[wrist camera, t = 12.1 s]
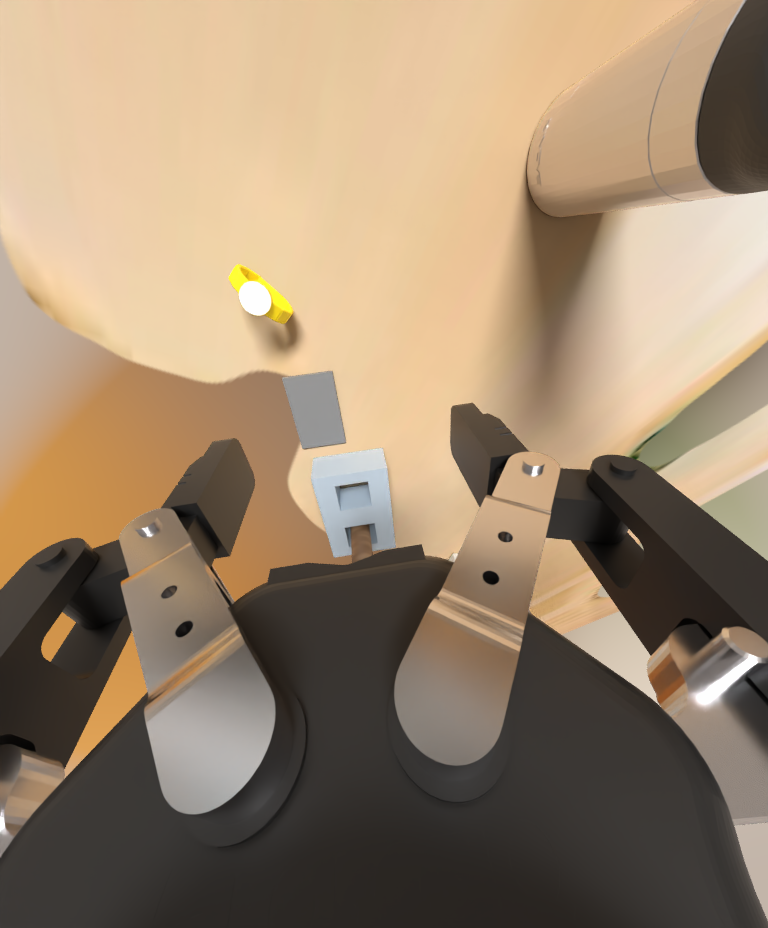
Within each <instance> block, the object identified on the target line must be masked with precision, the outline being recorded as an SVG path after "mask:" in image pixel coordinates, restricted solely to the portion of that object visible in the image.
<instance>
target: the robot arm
mask: <svg viewBox="0 0 768 928" xmlns="http://www.w3.org/2000/svg"><path fill="white" fill-rule="evenodd" d="M527 178H528V186H529V190H530V193H531V196H532V198H533V200H534V202H535V204H536V205H537V206H538V207H539V208H540V209H541V210H542V211H543V212H544V213H546V214H548V215H550V216H554V217H567V216H575V215H584V214H594V213H601V212H609V211H617V210H625V209H633V208H640V207H648V206H656V205H664V204H672V203H679V202H687V201H693V200H700V199H708V198H716V197H723V196H731V195H739V194H747V193H754V192H761V191H767V190H768V0H696V1H694V2H693V3H691V4H690V5H688V6H687V7H686V8H684V9H683V10H681V11H680V12H678V13H677V14H675V15H674V16H672V17H671V18H669V19H668V20H667V21H665V22H664V23H662V24H661V25H659V26H658V27H656V28H655V29H653V30H652V31H650V32H649V33H648V34H646V35H645V36H643V37H642V38H640V39H639V40H637V41H636V42H634V43H633V44H631V45H630V46H629V47H627V48H626V49H624V50H623V51H621V52H620V53H618V54H617V55H615V56H614V57H612V58H611V59H610V60H608V61H607V62H605V63H604V64H602V65H601V66H599V67H598V68H596V69H595V70H593V71H592V72H590V73H589V74H588V75H586V76H585V77H583V78H582V79H580V80H579V81H578V82H576V83H575V84H573V85H572V86H570V87H569V88H568V89H566V90H565V91H563V92H562V93H561V94H560V95H559V96H558V97H557V98H556V99H555V100H554V101H553V102H552V103H551V105H550V106H549V108H548V109H547V111H546V112H545V114H544V115H543V117H542V119H541V121H540V123H539V125H538V127H537V129H536V131H535V134H534V137H533V140H532V142H531V146H530V151H529V156H528V164H527ZM450 444H451V451H452V455H453V457H454V459H455V461H456V463H457V465H458V467H459V469H460V471H461V473H462V475H463V476H464V478H465V480H466V482H467V484H468V486H469V488H470V490H471V492H472V493H473V495H474V497H475V499H476V501H477V503H478V505H479V507H480V509H479V511H478V513H477V515H476V517H475V519H474V522H473V524H472V526H471V528H470V530H469V532H468V534H467V536H466V538H465V541H464V543H463V545H462V547H461V549H460V551H459V553H458V555H457V557H456V560H455V562H452V561H449V560H446V559H442V558H438V557H432V556H425V555H424V551H423V548H422V544H421V545H415V546H409V547H403V548H397V549H391V550H385V551H382V552H380V553H377V554H375V555H372V556H369V557H367V558H364V559H362V560H359V561H357V562H354V563H352V564H349V565H332V564H316V563H305V564H299V565H293V566H287V567H280V568H275V569H271V570H270V574H269V578H268V582H267V583H265V584H262V585H260V586H258V587H256V588H254V589H253V590H251V591H249V592H248V593H246V594H245V595H244V596H242V597H241V598H239V599H238V600H237V601H236V602H234V600H233V599H232V597H231V595H230V594H229V592H228V590H227V589H226V587H225V586H224V584H223V582H222V580H221V579H220V577H219V575H218V574H217V572H216V570H215V569H214V567H213V566H212V563H213V561H214V559H215V558H221V557H227V556H230V554H231V552H232V549H233V546H234V543H235V540H236V537H237V535H238V532H239V529H240V526H241V524H242V521H243V518H244V515H245V512H246V510H247V507H248V504H249V501H250V498H251V496H252V493H253V490H254V486H255V479H254V474H253V471H252V469H251V467H250V465H249V462H248V460H247V458H246V456H245V453H244V451H243V449H242V447H241V444H240V443H239V441H238V440H237V439H235V438H233V439H227V440H220V441H214V442H212V444H211V445H210V447H209V448H208V450H207V451H206V453H205V454H204V456H202V457H200V458H199V459H198V460H196V461H195V462H194V463H193V464H192V465H190V466H189V468H188V469H187V471H186V472H185V474H184V475H183V476H184V477H182V478H181V479H180V481H179V482H178V485H177V486H176V487H175V488H174V490H173V491H172V493H171V494H170V496H169V497H168V498H167V500H166V501H165V503H164V504H163V506H162V507H161V509H156V510H153V511H150V512H147V513H145V514H143V515H141V516H139V517H137V518H136V519H134V520H133V521H131V522H130V523H129V524H128V525H127V526H126V527H125V528H124V529H123V530H122V532H121V534H120V536H119V540H116V541H113V542H110V543H108V544H105V545H103V546H99V547H96V548H94V549H92V548H91V547H90V546H89V545H88V544H87V543H86V542H85V541H84V540H83V539H81V538H71V539H67V540H64V541H60V542H58V543H56V544H53V545H51V546H49V547H47V548H45V549H44V550H42V551H40V552H39V553H37V554H36V555H34V556H33V557H32V558H31V559H29V560H28V561H27V562H26V563H25V564H24V565H23V566H22V567H21V568H20V569H19V571H18V572H17V573H16V574H15V575H14V576H13V577H12V578H11V579H10V580H9V581H8V582H7V584H6V585H5V586H4V587H3V588H2V589H1V590H0V928H768V921H767V918H766V916H765V914H764V911H763V909H762V907H761V904H760V902H759V899H758V897H757V895H756V892H755V890H754V887H753V884H752V881H751V879H750V876H749V873H748V870H747V867H746V865H745V862H744V859H743V855H742V852H741V848H740V845H739V841H738V837H737V834H736V831H735V827H734V826H735V825H745V824H756V823H766V822H768V561H767V560H766V559H764V558H763V557H762V556H761V555H759V554H758V553H757V552H756V551H754V550H753V549H752V548H751V547H749V546H748V545H747V544H745V543H744V542H743V541H742V540H740V539H739V538H738V537H737V536H735V535H734V534H733V533H731V532H730V531H729V530H728V529H727V528H725V527H724V526H723V525H721V524H720V523H719V522H718V521H716V520H715V519H714V518H713V517H711V516H710V515H709V514H708V513H706V512H705V511H704V510H702V509H701V508H700V507H699V506H697V505H696V504H695V503H694V502H692V501H691V500H690V499H689V498H687V497H686V496H685V495H684V494H682V493H681V492H680V491H679V490H677V489H676V488H675V487H673V486H672V485H671V484H670V483H668V482H667V481H666V480H665V479H663V478H662V477H661V476H660V475H658V474H657V473H656V472H654V471H653V470H652V469H651V468H649V467H648V466H647V465H645V464H644V463H642V462H640V461H638V460H635V459H632V458H629V457H625V456H620V455H604V456H600V457H597V458H596V459H594V460H593V462H592V465H591V468H590V470H579V469H562V468H560V466H559V464H558V463H557V461H555V460H554V459H553V458H551V457H549V456H547V455H545V454H541V453H537V452H529V451H528V450H527V449H526V448H525V447H524V445H523V444H522V443H521V442H520V441H519V440H518V439H517V438H516V437H515V436H514V434H512V432H511V431H510V430H509V429H508V428H506V426H505V425H504V423H503V422H502V421H501V420H500V419H498V418H496V417H494V416H492V415H490V414H482V413H481V412H480V410H479V409H478V408H477V407H476V406H475V404H474V403H468V404H461V405H455V406H452V408H451V436H450ZM628 529H630V530H631V531H632V533H633V534H634V535H635V536H636V537H637V538H638V539H639V540H640V542H641V544H642V546H643V548H644V550H643V549H642V548H641V547H640V546H639V545H638V544H637V543H636V542H635V540H634V539H633V538H632V537H631V536H630V535H629V534H628V533H627V531H628ZM545 538H556V539H566V540H571V541H572V543H573V544H574V546H575V547H576V548H577V550H578V551H579V553H580V554H581V556H582V557H583V558H584V560H585V561H586V563H587V564H588V566H589V567H590V569H591V570H592V571H593V573H594V574H595V576H596V577H597V579H598V580H599V582H600V583H601V584H602V586H603V587H604V589H605V590H606V592H607V593H608V594H609V596H610V597H611V599H612V600H613V602H614V603H615V605H616V606H617V608H618V609H619V610H620V612H621V613H622V615H623V616H624V618H625V619H626V620H627V622H628V623H629V625H630V626H631V628H632V629H633V631H634V632H635V634H636V635H637V636H638V638H639V639H640V641H641V642H642V644H643V645H644V646H645V648H646V649H647V651H648V652H649V654H650V655H651V657H650V658H649V660H648V663H647V672H648V677H649V680H650V683H651V685H652V687H653V689H654V691H655V693H656V697H657V701H658V703H659V705H660V706H661V707H660V706H659V705H658V704H657V703H656V702H655V701H653V700H652V699H651V698H650V697H648V696H647V695H646V694H644V693H643V692H642V691H641V690H639V689H638V688H637V687H635V686H634V685H632V684H631V683H629V682H628V681H626V680H625V679H624V678H622V677H621V676H619V675H618V674H617V673H615V672H614V671H612V670H611V669H609V668H608V667H607V666H605V665H604V664H602V663H601V662H599V661H598V660H597V659H595V658H594V657H592V656H591V655H589V654H588V653H586V652H585V651H584V650H582V649H581V648H579V647H578V646H577V645H575V644H573V643H572V642H571V641H569V640H568V639H566V638H565V637H564V636H562V635H561V634H559V633H558V632H557V631H555V630H554V629H552V628H551V627H549V626H548V625H547V624H545V623H544V622H542V621H541V620H539V619H538V618H536V617H535V616H534V615H532V614H531V613H529V612H528V611H529V606H530V602H531V598H532V594H533V589H534V585H535V581H536V576H537V572H538V568H539V563H540V559H541V555H542V551H543V546H544V542H545ZM61 612H63V613H65V614H66V615H67V616H69V617H70V618H71V619H73V620H74V621H75V622H76V624H75V625H74V627H73V628H72V630H71V631H70V633H69V635H68V636H67V637H66V639H65V641H64V642H63V644H62V645H61V647H60V648H59V650H58V652H57V653H56V655H55V656H54V658H53V659H52V661H51V662H49V661H48V660H46V659H45V658H44V657H43V655H42V652H41V645H42V641H43V639H44V637H45V635H46V634H47V632H48V631H49V629H50V628H51V627H52V625H53V624H54V622H55V621H56V620H57V618H58V617H59V615H60V614H61ZM131 631H132V632H133V636H134V640H135V643H136V647H137V651H138V655H139V659H140V663H141V667H142V671H143V675H144V679H145V683H146V686H147V691H148V692H147V693H146V694H145V695H144V696H143V697H142V698H141V700H140V701H139V702H138V703H137V704H136V705H135V706H134V707H133V708H132V709H131V710H130V711H129V712H128V713H127V714H126V715H125V716H124V717H123V718H122V720H120V721H119V723H118V724H117V725H116V726H115V727H114V728H113V729H112V730H111V731H110V732H109V733H108V734H107V735H106V736H105V737H104V738H103V739H102V740H101V741H100V742H99V743H98V744H97V746H96V747H95V748H94V749H93V750H92V751H91V752H90V753H89V754H88V755H87V756H86V757H85V758H84V759H83V760H82V761H81V762H80V763H79V764H78V766H76V768H75V769H74V770H73V771H72V772H71V773H70V774H69V775H68V776H67V777H66V778H65V779H64V776H65V774H64V769H65V767H66V765H67V763H68V761H69V759H70V757H71V755H72V753H73V751H74V749H75V747H76V745H77V742H78V740H79V738H80V736H81V734H82V732H83V730H84V728H85V726H86V724H87V722H88V720H89V718H90V716H91V714H92V712H93V710H94V707H95V705H96V703H97V701H98V699H99V697H100V695H101V693H102V691H103V689H104V687H105V685H106V683H107V681H108V679H109V677H110V675H111V672H112V670H113V668H114V666H115V664H116V662H117V660H118V658H119V656H120V654H121V652H122V650H123V648H124V646H125V644H126V642H127V639H128V637H129V635H130V633H131Z"/></svg>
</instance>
